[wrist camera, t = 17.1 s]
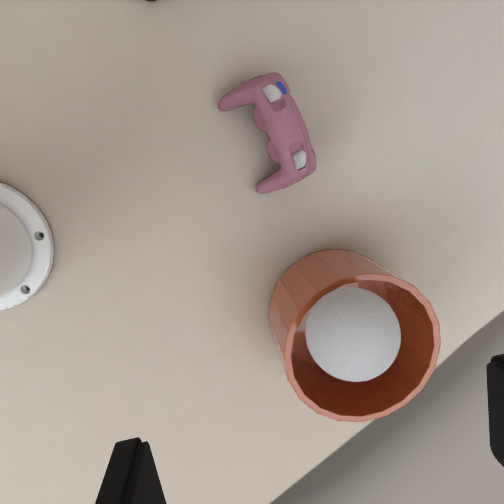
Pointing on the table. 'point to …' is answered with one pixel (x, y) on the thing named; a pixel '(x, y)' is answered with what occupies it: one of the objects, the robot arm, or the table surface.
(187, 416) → the table surface
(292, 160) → the video game controller
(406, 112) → the table surface
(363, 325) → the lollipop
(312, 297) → the pen pot
